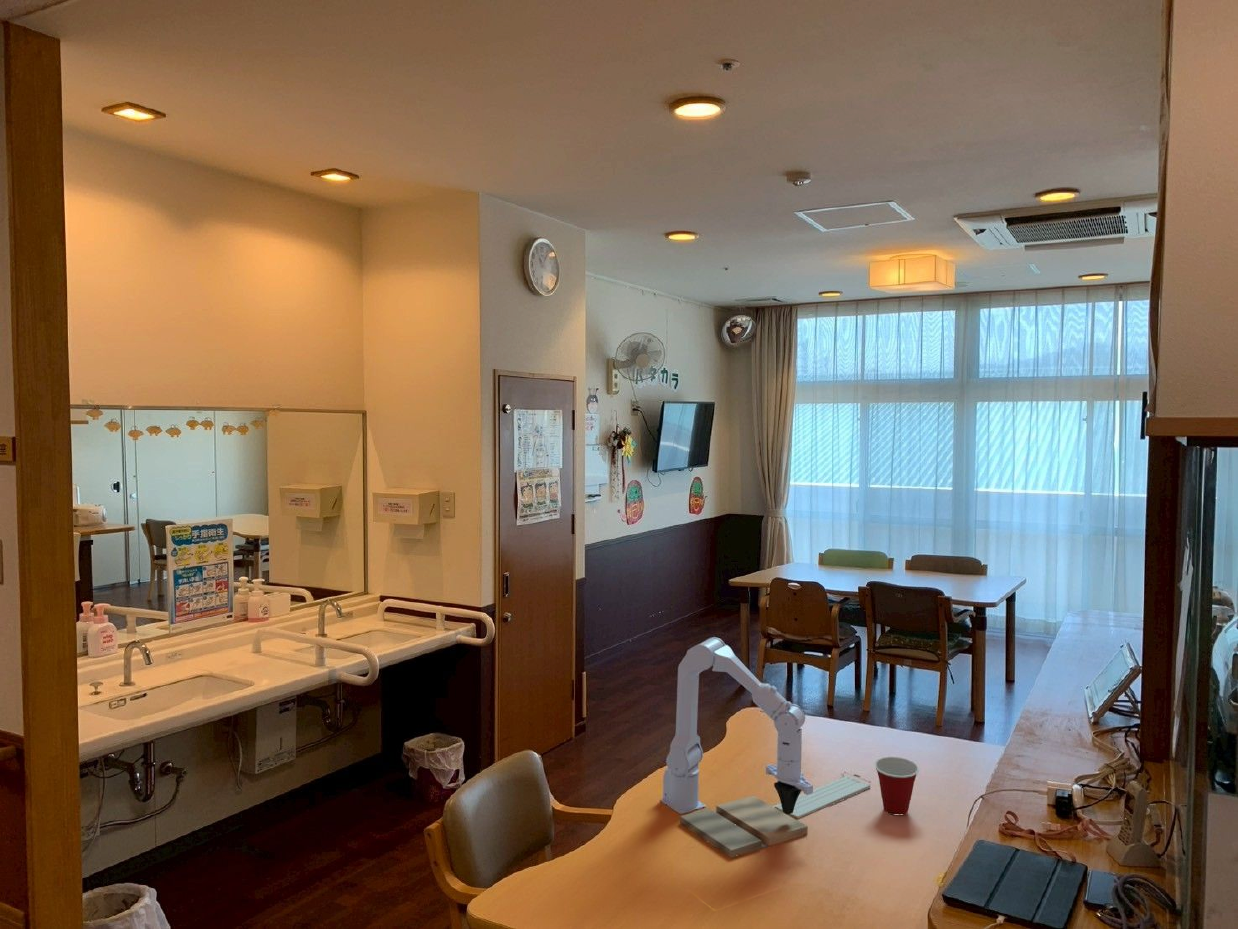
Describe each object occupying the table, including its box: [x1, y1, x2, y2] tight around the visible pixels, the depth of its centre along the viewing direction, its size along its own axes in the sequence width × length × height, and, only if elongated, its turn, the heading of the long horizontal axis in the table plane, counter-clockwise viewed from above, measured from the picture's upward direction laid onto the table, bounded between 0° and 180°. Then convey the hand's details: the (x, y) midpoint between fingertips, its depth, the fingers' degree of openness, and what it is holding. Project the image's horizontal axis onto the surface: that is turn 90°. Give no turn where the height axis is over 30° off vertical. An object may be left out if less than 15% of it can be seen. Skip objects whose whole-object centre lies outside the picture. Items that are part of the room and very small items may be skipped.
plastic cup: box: [874, 756, 920, 815], centre depth 228 cm, size 11×11×12 cm
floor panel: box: [679, 808, 768, 859], centre depth 214 cm, size 20×10×2 cm, turn 31°
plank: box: [715, 795, 809, 846], centre depth 221 cm, size 20×12×2 cm, turn 31°
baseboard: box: [772, 771, 872, 820], centre depth 236 cm, size 30×3×10 cm
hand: (788, 812), depth 217 cm, fingers closed
